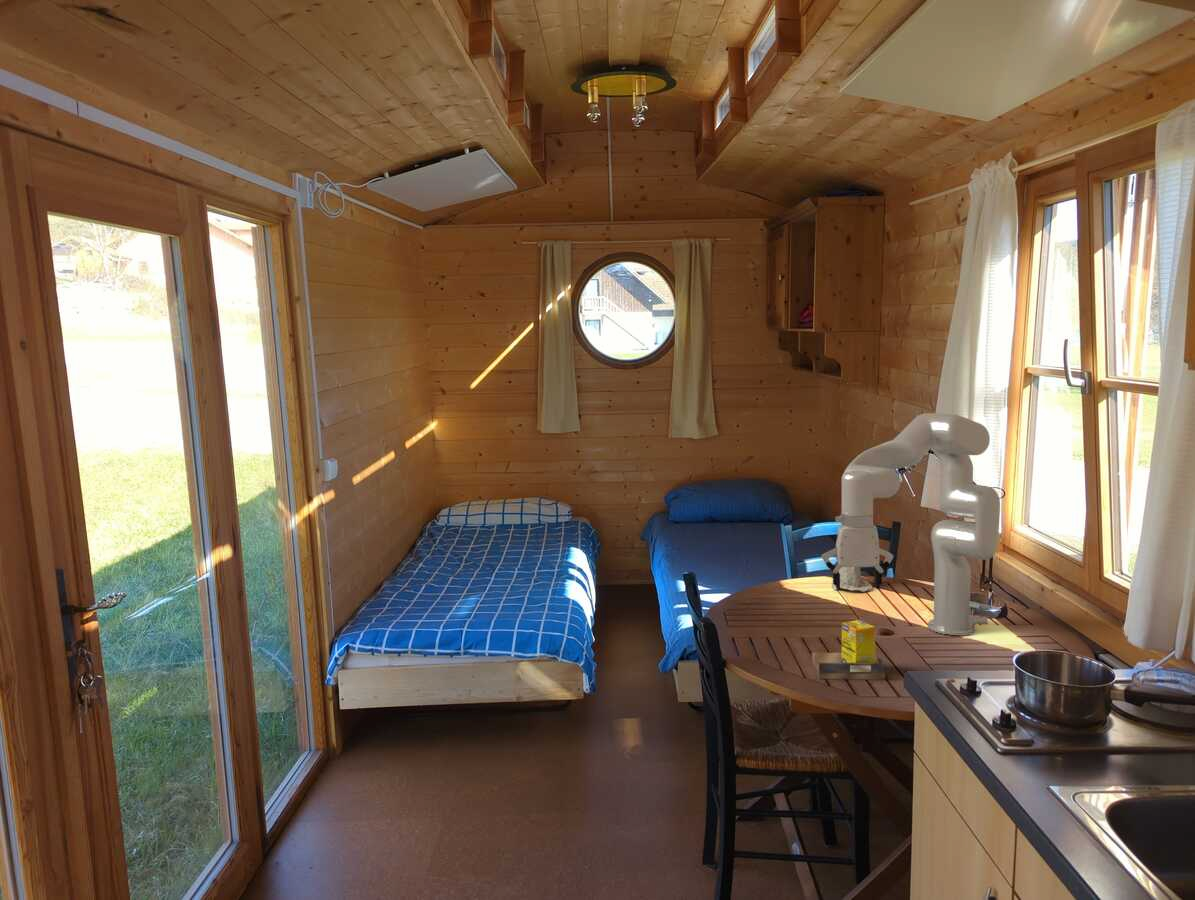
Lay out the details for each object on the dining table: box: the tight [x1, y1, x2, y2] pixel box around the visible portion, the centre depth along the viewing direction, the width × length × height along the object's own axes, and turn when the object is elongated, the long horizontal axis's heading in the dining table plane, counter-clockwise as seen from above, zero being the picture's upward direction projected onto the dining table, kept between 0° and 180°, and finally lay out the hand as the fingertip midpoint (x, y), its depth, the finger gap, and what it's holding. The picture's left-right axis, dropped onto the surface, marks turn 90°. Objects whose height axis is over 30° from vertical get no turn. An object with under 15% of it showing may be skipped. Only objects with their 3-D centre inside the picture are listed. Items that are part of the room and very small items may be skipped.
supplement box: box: [841, 619, 876, 663], centre depth 220 cm, size 6×6×11 cm
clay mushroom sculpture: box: [831, 567, 873, 593], centre depth 289 cm, size 12×13×18 cm
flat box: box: [811, 652, 886, 681], centre depth 223 cm, size 16×14×4 cm
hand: (857, 587), depth 218 cm, fingers open, 9 cm apart
